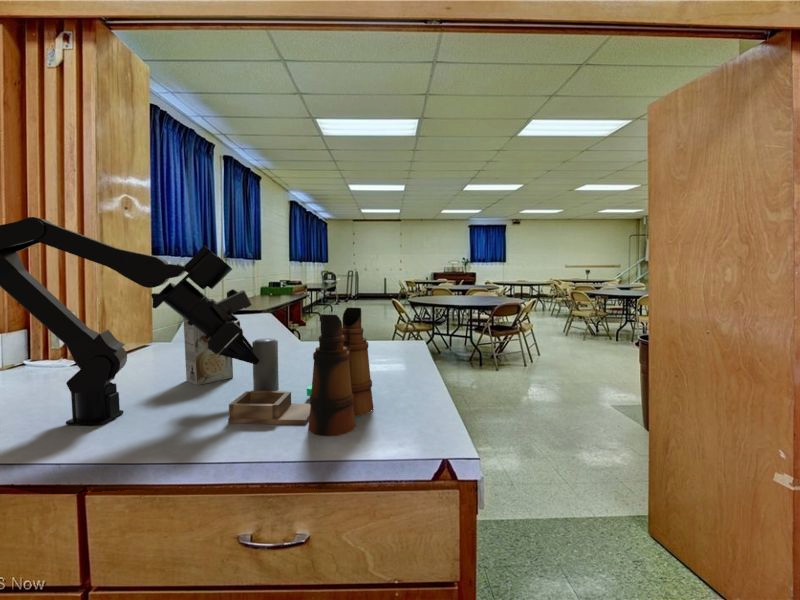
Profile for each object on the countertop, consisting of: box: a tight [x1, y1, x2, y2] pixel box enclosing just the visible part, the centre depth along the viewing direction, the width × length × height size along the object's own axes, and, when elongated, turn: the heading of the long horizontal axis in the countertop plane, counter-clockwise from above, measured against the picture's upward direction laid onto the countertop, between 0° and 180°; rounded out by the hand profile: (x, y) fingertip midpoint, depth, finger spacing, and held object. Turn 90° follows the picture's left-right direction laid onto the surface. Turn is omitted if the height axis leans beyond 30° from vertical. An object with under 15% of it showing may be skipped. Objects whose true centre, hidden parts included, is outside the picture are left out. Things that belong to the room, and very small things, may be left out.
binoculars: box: [307, 307, 374, 437], centre depth 81 cm, size 18×8×20 cm, turn 165°
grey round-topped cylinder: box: [251, 338, 280, 391], centre depth 91 cm, size 5×5×13 cm
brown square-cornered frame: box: [227, 390, 311, 425], centre depth 82 cm, size 14×9×3 cm, turn 88°
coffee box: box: [182, 317, 234, 386], centre depth 107 cm, size 9×6×16 cm
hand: (256, 357), depth 90 cm, fingers open, 9 cm apart
